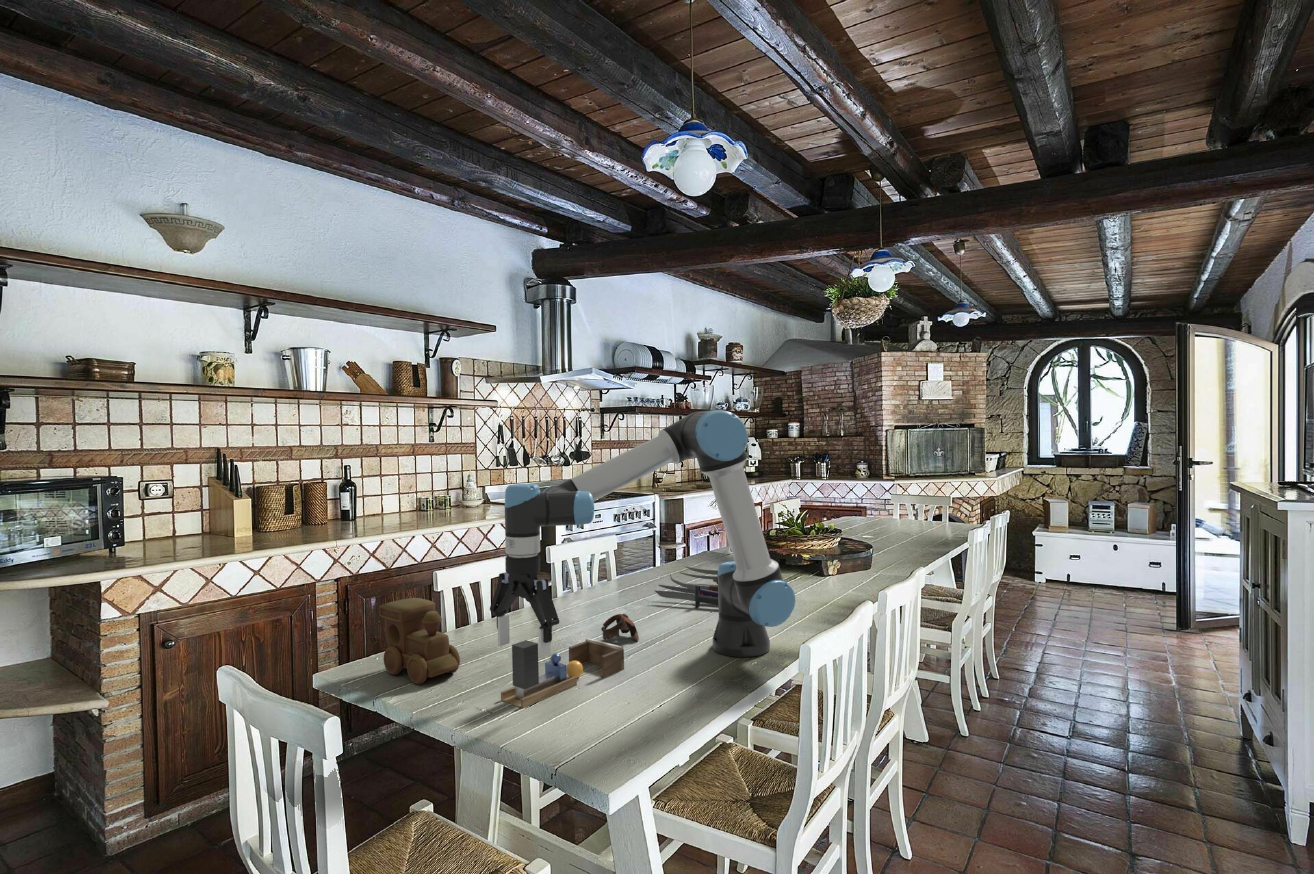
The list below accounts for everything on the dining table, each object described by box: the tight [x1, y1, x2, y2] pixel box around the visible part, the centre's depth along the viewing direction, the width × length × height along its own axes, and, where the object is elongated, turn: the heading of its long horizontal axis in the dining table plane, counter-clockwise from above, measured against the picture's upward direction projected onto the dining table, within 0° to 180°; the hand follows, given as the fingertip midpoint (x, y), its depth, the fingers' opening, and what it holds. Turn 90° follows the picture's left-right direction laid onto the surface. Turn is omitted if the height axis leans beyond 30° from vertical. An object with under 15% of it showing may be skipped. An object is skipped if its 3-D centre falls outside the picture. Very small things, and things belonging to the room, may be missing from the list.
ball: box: [566, 661, 584, 678], centre depth 164 cm, size 4×4×4 cm
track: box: [500, 677, 578, 709], centre depth 155 cm, size 7×16×2 cm, turn 142°
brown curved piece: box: [600, 613, 640, 643], centre depth 193 cm, size 12×10×8 cm
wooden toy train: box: [378, 597, 461, 686], centre depth 169 cm, size 20×11×17 cm, turn 52°
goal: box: [568, 637, 625, 679], centre depth 170 cm, size 12×7×6 cm, turn 52°
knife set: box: [653, 565, 718, 609], centre depth 239 cm, size 35×33×8 cm
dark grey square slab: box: [511, 639, 568, 699], centre depth 155 cm, size 5×12×12 cm, turn 142°
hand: (523, 650), depth 152 cm, fingers open, 13 cm apart
